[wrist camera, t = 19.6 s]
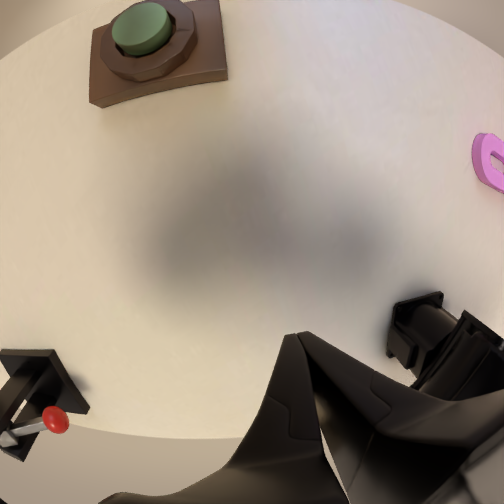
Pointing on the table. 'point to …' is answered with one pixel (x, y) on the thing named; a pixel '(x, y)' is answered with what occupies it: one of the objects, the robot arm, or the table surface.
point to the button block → (160, 55)
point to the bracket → (488, 160)
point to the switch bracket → (35, 392)
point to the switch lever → (35, 426)
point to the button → (142, 28)
